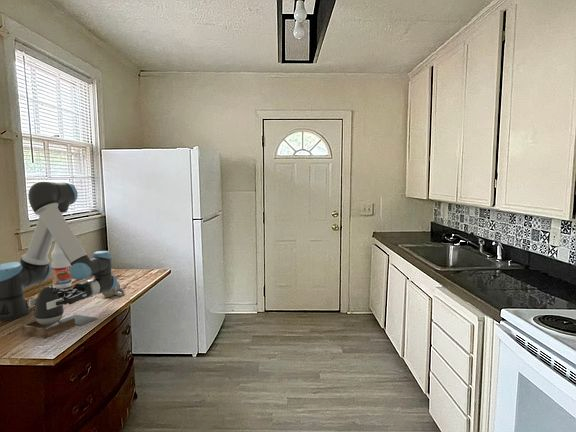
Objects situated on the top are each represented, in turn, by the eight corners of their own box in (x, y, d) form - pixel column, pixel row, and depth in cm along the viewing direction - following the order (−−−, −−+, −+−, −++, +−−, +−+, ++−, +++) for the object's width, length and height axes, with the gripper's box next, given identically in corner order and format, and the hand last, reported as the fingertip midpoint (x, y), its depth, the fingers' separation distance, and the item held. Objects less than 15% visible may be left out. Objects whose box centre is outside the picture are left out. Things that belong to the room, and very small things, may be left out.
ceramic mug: (100, 298, 196) (100, 283, 195) (105, 293, 204) (105, 279, 203) (121, 297, 197) (121, 283, 197) (126, 292, 205) (126, 279, 205)
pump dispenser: (50, 328, 148) (48, 290, 146) (28, 326, 150) (26, 289, 148) (70, 319, 157) (68, 283, 156) (49, 317, 160) (47, 282, 158)
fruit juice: (63, 284, 224) (61, 237, 221) (75, 285, 220) (72, 238, 218) (48, 288, 215) (45, 239, 212) (60, 289, 212) (57, 240, 209)
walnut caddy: (21, 333, 150) (21, 325, 149) (51, 322, 162) (51, 314, 161) (46, 338, 145) (45, 329, 145) (75, 326, 157) (74, 318, 157)
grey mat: (57, 322, 162) (57, 321, 162) (75, 315, 170) (75, 314, 170) (80, 326, 158) (80, 325, 157) (97, 318, 166) (97, 317, 166)
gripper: (105, 300, 166) (59, 317, 145) (68, 294, 174) (19, 310, 152) (104, 283, 166) (58, 298, 144) (67, 279, 173) (18, 292, 152)
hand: (38, 304), depth 148 cm, fingers closed on pump dispenser, 9 cm apart
